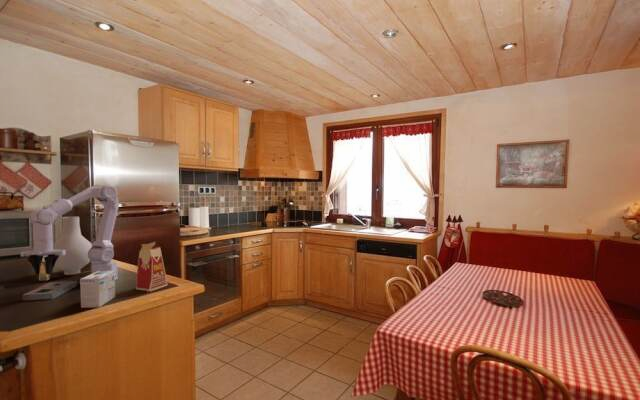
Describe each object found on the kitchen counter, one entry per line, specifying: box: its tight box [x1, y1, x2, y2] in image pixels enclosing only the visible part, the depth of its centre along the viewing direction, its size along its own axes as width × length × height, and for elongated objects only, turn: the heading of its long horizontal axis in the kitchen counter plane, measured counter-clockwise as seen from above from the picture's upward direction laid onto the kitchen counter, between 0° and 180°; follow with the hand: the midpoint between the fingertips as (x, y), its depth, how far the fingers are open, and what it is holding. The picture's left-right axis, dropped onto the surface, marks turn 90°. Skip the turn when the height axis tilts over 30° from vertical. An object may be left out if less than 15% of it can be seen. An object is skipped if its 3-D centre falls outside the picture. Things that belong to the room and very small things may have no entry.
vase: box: [53, 216, 93, 276], centre depth 158 cm, size 17×16×28 cm
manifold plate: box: [22, 280, 78, 302], centre depth 129 cm, size 10×16×2 cm, turn 10°
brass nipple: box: [38, 260, 51, 282], centre depth 125 cm, size 3×3×7 cm
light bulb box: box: [79, 271, 116, 309], centre depth 120 cm, size 11×7×11 cm, turn 5°
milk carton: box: [135, 241, 168, 292], centre depth 137 cm, size 9×9×20 cm
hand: (44, 273), depth 125 cm, fingers closed on brass nipple, 3 cm apart
